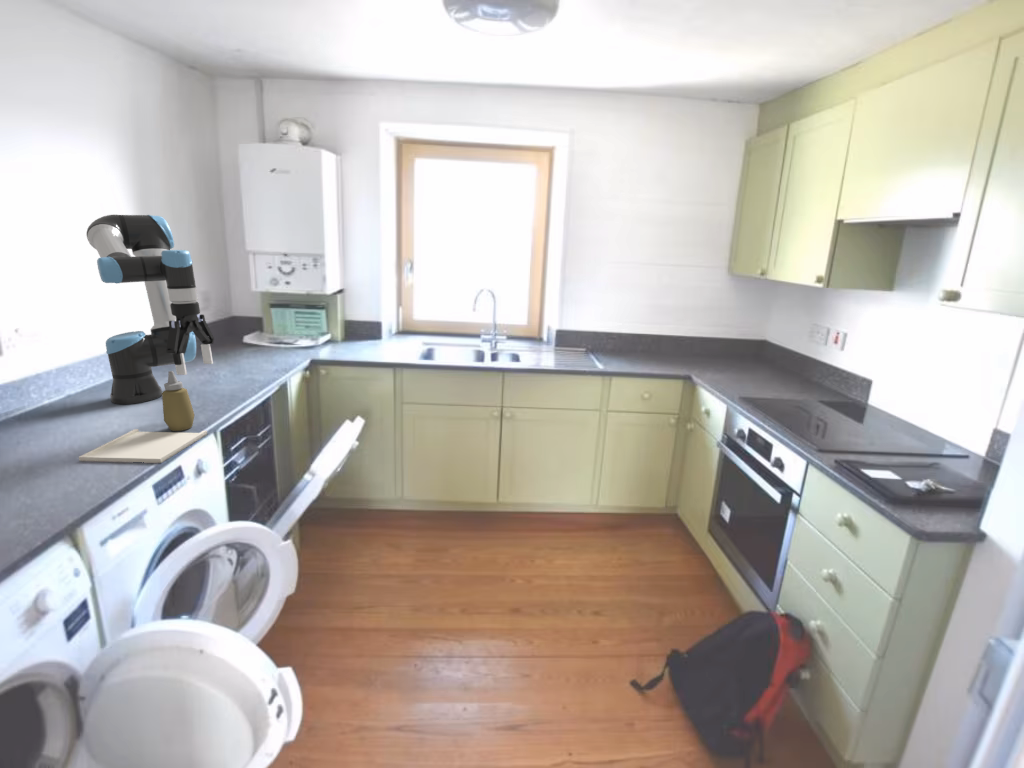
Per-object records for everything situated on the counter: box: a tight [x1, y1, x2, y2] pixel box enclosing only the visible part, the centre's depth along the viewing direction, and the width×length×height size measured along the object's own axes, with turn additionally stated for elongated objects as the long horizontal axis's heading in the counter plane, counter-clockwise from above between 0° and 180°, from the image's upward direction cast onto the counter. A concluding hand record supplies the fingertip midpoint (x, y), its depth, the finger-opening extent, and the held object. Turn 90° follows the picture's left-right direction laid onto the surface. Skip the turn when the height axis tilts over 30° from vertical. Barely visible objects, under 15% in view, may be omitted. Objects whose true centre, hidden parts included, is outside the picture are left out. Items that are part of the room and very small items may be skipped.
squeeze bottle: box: [161, 370, 195, 432], centre depth 157 cm, size 8×8×18 cm
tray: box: [78, 428, 208, 464], centre depth 145 cm, size 20×22×1 cm
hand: (195, 369), depth 166 cm, fingers open, 13 cm apart
